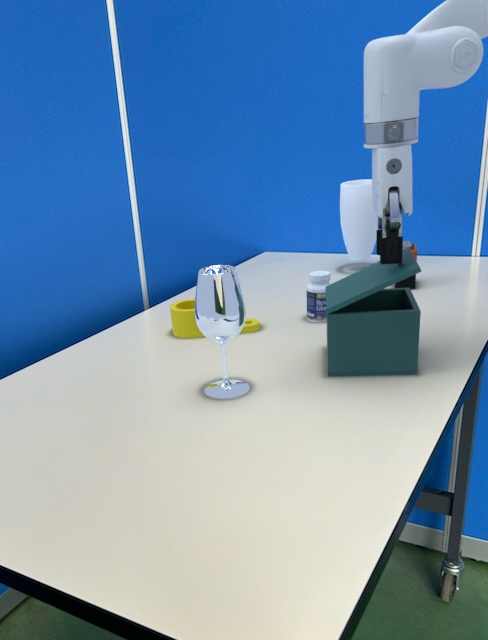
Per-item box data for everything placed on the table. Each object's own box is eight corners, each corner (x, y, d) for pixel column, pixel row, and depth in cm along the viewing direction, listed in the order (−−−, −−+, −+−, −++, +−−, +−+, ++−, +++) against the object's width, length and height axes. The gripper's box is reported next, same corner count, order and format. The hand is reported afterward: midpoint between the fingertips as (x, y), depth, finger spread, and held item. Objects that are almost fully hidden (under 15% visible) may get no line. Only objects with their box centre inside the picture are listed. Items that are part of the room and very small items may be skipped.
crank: (169, 340, 126) (166, 312, 124) (177, 326, 134) (174, 299, 131) (258, 336, 123) (257, 307, 120) (261, 322, 130) (259, 295, 128)
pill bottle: (316, 325, 125) (316, 278, 121) (301, 319, 129) (300, 273, 125) (339, 320, 127) (339, 272, 123) (323, 313, 131) (323, 268, 127)
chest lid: (410, 251, 103) (397, 222, 101) (421, 271, 91) (407, 238, 90) (327, 291, 108) (313, 263, 106) (328, 314, 97) (313, 283, 95)
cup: (386, 272, 155) (389, 182, 145) (344, 277, 155) (344, 187, 146) (374, 263, 164) (376, 177, 155) (334, 267, 164) (334, 182, 155)
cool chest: (406, 347, 110) (409, 287, 105) (416, 376, 99) (420, 311, 94) (326, 349, 113) (326, 291, 108) (327, 378, 102) (327, 314, 97)
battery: (394, 291, 140) (396, 246, 136) (394, 282, 146) (396, 240, 142) (415, 290, 139) (417, 246, 135) (414, 282, 145) (416, 239, 141)
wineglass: (244, 377, 105) (235, 260, 97) (256, 396, 98) (248, 271, 90) (199, 385, 104) (186, 267, 96) (208, 404, 97) (195, 279, 89)
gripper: (427, 135, 82) (422, 271, 89) (409, 127, 97) (406, 244, 104) (368, 142, 83) (368, 275, 91) (359, 133, 98) (360, 248, 106)
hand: (388, 257), depth 98 cm, fingers closed on chest lid, 5 cm apart
